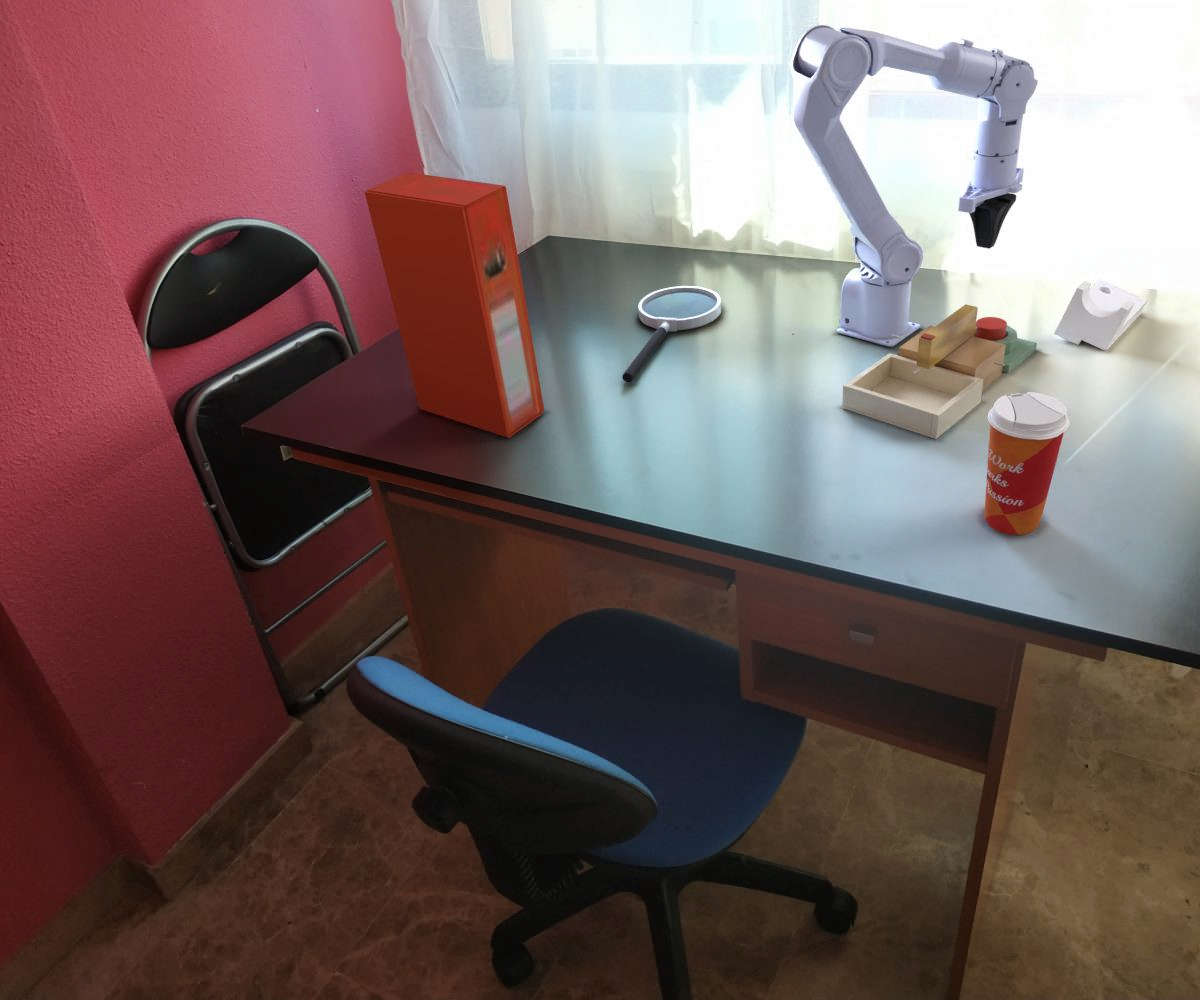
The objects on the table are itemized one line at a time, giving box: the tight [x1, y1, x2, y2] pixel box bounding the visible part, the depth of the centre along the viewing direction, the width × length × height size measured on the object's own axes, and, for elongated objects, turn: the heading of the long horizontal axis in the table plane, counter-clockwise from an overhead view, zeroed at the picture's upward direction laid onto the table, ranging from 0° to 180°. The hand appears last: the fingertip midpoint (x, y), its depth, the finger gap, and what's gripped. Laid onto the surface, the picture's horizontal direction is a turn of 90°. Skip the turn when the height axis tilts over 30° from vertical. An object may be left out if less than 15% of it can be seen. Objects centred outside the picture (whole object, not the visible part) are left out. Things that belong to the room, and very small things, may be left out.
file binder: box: [363, 171, 545, 439], centre depth 131 cm, size 8×17×32 cm, turn 52°
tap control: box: [973, 325, 1038, 374], centre depth 137 cm, size 10×8×3 cm
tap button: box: [975, 316, 1008, 341], centre depth 136 cm, size 4×4×2 cm
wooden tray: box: [841, 352, 983, 440], centre depth 128 cm, size 14×11×3 cm
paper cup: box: [984, 391, 1070, 536], centre depth 103 cm, size 8×8×14 cm
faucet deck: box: [891, 325, 1006, 391], centre depth 132 cm, size 16×16×5 cm
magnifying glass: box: [622, 285, 722, 384], centre depth 153 cm, size 13×31×2 cm, turn 158°
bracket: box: [1053, 278, 1149, 351], centre depth 138 cm, size 13×7×8 cm, turn 138°
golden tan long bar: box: [917, 304, 979, 369], centre depth 129 cm, size 12×2×4 cm, turn 135°
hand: (985, 246), depth 142 cm, fingers closed
